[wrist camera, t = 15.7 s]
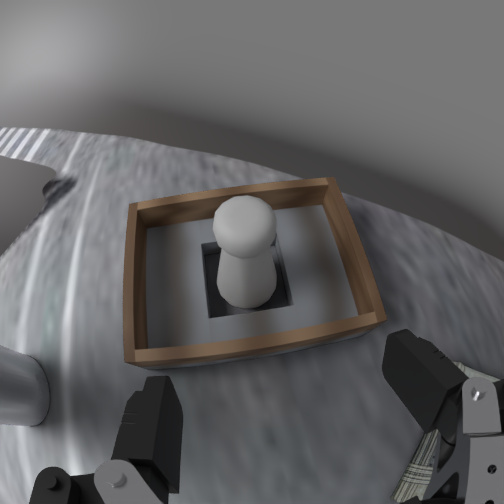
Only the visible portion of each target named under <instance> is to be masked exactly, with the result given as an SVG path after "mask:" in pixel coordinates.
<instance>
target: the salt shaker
mask: <svg viewBox="0 0 504 504" xmlns="http://www.w3.org/2000/svg"><path fill="white" fill-rule="evenodd" d="M276 226H277V220H276V215H275V213H274V212H273V210H272V208H271V206H270V205H269V204H267V203H266V202H265V201H263V200H262V199H260V198H257V197H253V196H248V195H246V196H236V197H233V198H231V199H229V200H227V201H225V202H223V203H222V204H221V206H220V207H219V208H218V209H217V210H216V212H215V216H214V222H213V232H214V235H215V238H216V240H217V243H218V246H219V247H221V248H222V249H221V256H220V262H219V268H218V276H217V286H218V289H219V292H220V294H221V296H222V297H223V298H224V299H225V300H226V301H227V302H228V303H229V304H231V305H232V306H235V307H238V308H242V309H250V308H257V307H259V306H261V305H262V304H264V303H265V302H267V301H268V300H269V299H270V297H271V296H272V294H273V292H274V290H275V289H276V280H277V274H276V270H275V265H274V261H273V257H272V253H271V249H270V245H271V244H272V242H273V240H274V239H275V236H276Z"/></svg>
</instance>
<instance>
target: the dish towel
mask: <svg viewBox="0 0 504 504" xmlns="http://www.w3.org/2000/svg"><path fill="white" fill-rule="evenodd" d="M452 362H453V363H454V364H455V365H456V366H457V367H458V368H459V369H460V370H461V371H462V372H464V373H465V374H466V375H467V376H468V377H469V378H472V377H484V378H486V379H488V380H490V381H491V382H492V383H493V382H496V381H499V379H497V378H495V377H492V376H489V375H486V374H484V373H481V372H478V371H476V370H473V369H471V368H468V367H466V366H464V365H463V364H462V363H461V362H455V361H452ZM438 434H439V431H438V430H437V429H436V430H434V431H432V432H430V433H428V434H427V435H426V433H424V435H423V437H422V440H421V442H420V444H419V446H418V448H417V450H416V452H415V454H414V456H413V458H412V460H411V462H410V463H409V465H408V467H407V469H406V471H405V473H404V474H403V476H402V478H401V480H400V482H399V484H398V486H397V488H396V489H395V491H394V493H393V494H392V496H391V498H390V499H391V500H396V501H397V502H404V501H406V500H408V499H410V498H412V497H414V496H416V495H417V496H418V498H419V500H422V498H423V495H424V493H425V490H426V488H427V486H428V484H429V482H430V479H431V476H432V471H433V465H434V458H435V451H436V443H437V437H438Z"/></svg>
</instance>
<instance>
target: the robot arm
mask: <svg viewBox="0 0 504 504" xmlns="http://www.w3.org/2000/svg"><path fill="white" fill-rule="evenodd" d="M382 371H383V375H384V378H385V379H386V381H387V382H388V383H389V385H390V386H391V387H392V389H393V390H394V391H395V393H396V394H397V395H398V397H399V398H400V399H401V401H402V402H403V403H404V405H405V406H406V407H407V409H408V410H409V411H410V413H411V414H412V415H413V417H414V418H415V419H416V421H417V422H418V424H419V425H420V426H421V428H422V429H423V430H424V432H425V433H426V435H427V434H428V433H430V432H432V431H434V430H436V429H437V430H438V431H439V434H438V437H437V443H436V451H435V458H434V465H433V471H432V476H431V479H430V482H429V484H428V486H427V488H426V490H425V493H424V495H423V498H422V500H419V498H418V496H417V495H416V496H414V497H412V498H410V499H408V500H406V501H404V502H402V503H400V504H504V379H502V380H499V381H496V382H493V383H492V382H491V381H490V380H488V379H486V378H484V377H472V378H469V377H468V376H467V375H466V374H465V373H464V372H462V371H461V370H460V369H459V368H458V367H457V366H456V365H455V364H454V363H453V362H452V361H451V360H450V359H449V358H447V357H445V355H444V354H443V353H442V352H441V351H439V349H438V348H436V347H435V346H434V345H433V344H432V343H431V342H429V341H427V340H425V339H422V338H420V337H419V338H417V337H416V336H415V335H414V334H413V333H412V332H411V331H409V330H408V329H403V330H400V331H397V332H394V333H391V334H389V335H388V336H387V340H386V346H385V352H384V358H383V363H382ZM49 402H50V393H49V386H48V382H47V378H46V376H45V374H44V371H43V370H42V368H41V366H40V365H39V364H38V362H37V361H36V360H34V359H33V358H32V357H30V356H27V355H24V354H22V353H19V352H16V351H13V350H11V349H9V348H6V347H3V346H1V345H0V424H5V425H20V426H35V425H38V424H40V423H41V422H42V421H43V420H44V418H45V417H46V415H47V412H48V409H49ZM121 422H122V424H121V425H120V428H119V432H118V435H117V439H116V443H115V447H114V451H113V455H112V458H111V460H110V461H107V462H105V463H103V464H102V465H100V466H99V467H98V469H97V470H96V472H95V473H92V474H86V475H77V476H70V475H68V474H67V473H66V472H65V471H64V470H63V469H61V468H58V467H48V468H45V469H43V470H42V471H41V472H40V473H39V474H38V476H37V478H36V480H35V484H34V487H33V491H32V494H31V498H30V502H29V504H168V496H169V493H177V494H179V482H180V460H181V443H182V428H183V412H182V407H181V404H180V402H179V399H178V397H177V394H176V392H175V389H174V386H173V384H172V381H171V379H170V377H169V376H153V377H147V379H146V382H145V385H144V389H143V391H135V393H134V394H133V395H132V396H131V397H130V399H129V400H128V401H127V404H126V407H125V411H124V415H123V418H122V421H121Z"/></svg>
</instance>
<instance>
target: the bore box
mask: <svg viewBox="0 0 504 504" xmlns="http://www.w3.org/2000/svg"><path fill="white" fill-rule="evenodd" d="M246 195H248V196H253V197H257V198H260V199H262V200H263V201H265V202H266V203H267V204H269V205H270V206H271V208H272V210H273V212H274V213H275V215H276V220H277V226H276V236H275V239H274V240H273V242H272V244H271V245H270V246H272V245H275V246H276V250H277V255H278V259H279V263H280V268H281V272H282V276H283V281H284V285H285V290H286V294H287V299H288V303H289V306H287V307H281V308H275V309H269V310H263V311H257V312H250V313H244V314H237V315H230V316H223V317H215V318H211V313H210V304H209V295H208V286H207V277H206V267H205V257H204V255H208V254H215V253H221V249H222V248H221V247H219V246H218V243H217V240H216V238H215V235H214V232H213V222H214V216H215V212H216V210H217V209H218V208H219V207H220V206H221V204H222V203H223V202H225V201H227V200H229V199H231V198H233V197H236V196H246ZM386 320H387V317H386V313H385V310H384V307H383V304H382V300H381V297H380V294H379V291H378V288H377V285H376V282H375V279H374V276H373V273H372V270H371V267H370V265H369V262H368V259H367V256H366V253H365V251H364V248H363V245H362V243H361V240H360V238H359V235H358V232H357V230H356V227H355V225H354V222H353V220H352V217H351V215H350V213H349V210H348V208H347V206H346V203H345V201H344V199H343V196H342V194H341V192H340V189H339V187H338V185H337V183H336V181H335V178H334V177H329V178H317V179H303V180H292V181H282V182H272V183H263V184H254V185H246V186H238V187H230V188H222V189H215V190H208V191H201V192H195V193H188V194H182V195H176V196H170V197H164V198H159V199H153V200H148V201H142V202H137V203H132V204H129V211H128V220H127V231H126V242H125V257H124V278H123V340H124V361H125V362H126V363H129V364H132V365H135V366H138V367H141V368H145V369H148V370H155V369H170V368H182V367H193V366H203V365H211V364H220V363H228V362H235V361H242V360H248V359H255V358H261V357H267V356H273V355H278V354H284V353H289V352H294V351H299V350H304V349H308V348H313V347H318V346H322V345H326V344H331V343H335V342H339V341H343V340H347V339H351V338H355V337H358V336H362V335H364V334H366V333H367V332H369V331H371V330H372V329H374V328H375V327H377V326H378V325H380V324H382V323H383V322H385V321H386Z"/></svg>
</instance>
